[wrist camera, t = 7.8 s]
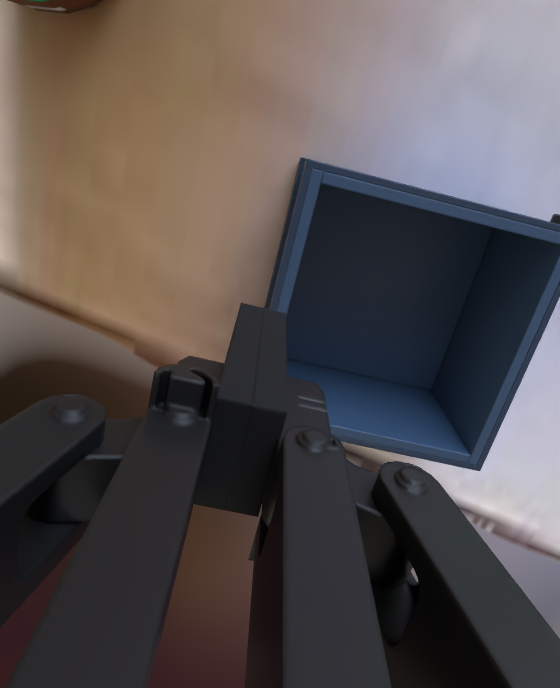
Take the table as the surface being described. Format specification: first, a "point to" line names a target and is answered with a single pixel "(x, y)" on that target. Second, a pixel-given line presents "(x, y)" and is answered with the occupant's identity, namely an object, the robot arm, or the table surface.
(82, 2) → the food container
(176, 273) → the table surface
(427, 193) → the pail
